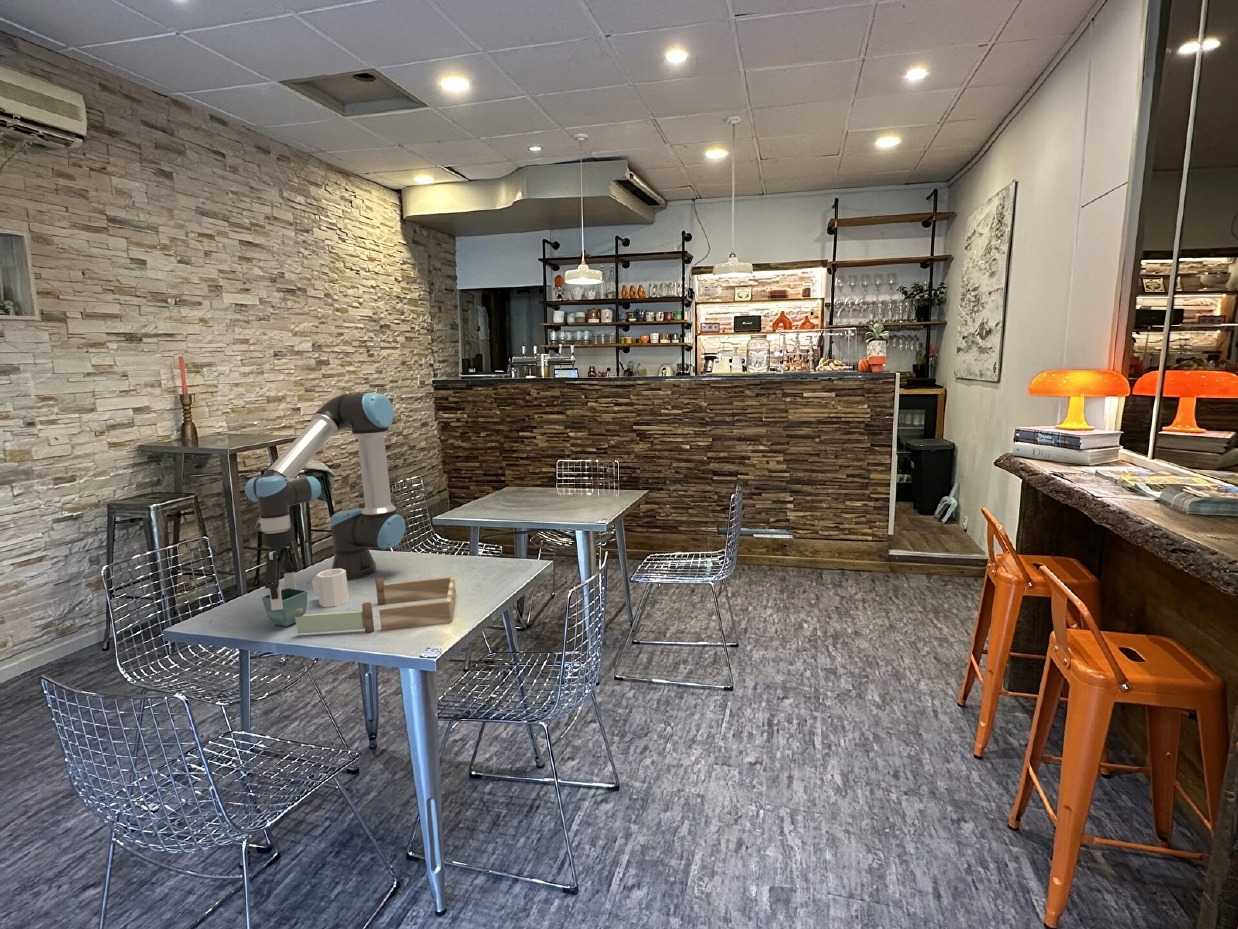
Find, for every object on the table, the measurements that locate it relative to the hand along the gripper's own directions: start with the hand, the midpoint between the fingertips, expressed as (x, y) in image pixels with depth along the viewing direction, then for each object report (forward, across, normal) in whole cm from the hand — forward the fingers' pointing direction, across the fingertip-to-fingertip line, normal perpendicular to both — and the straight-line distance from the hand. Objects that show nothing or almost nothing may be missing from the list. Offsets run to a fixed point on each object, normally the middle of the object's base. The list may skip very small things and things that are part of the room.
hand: (284, 601), depth 189 cm
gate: (+6, +12, +15) cm, 20 cm away
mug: (+7, -15, +8) cm, 19 cm away
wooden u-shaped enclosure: (+7, +3, +36) cm, 37 cm away
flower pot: (+7, 0, 0) cm, 7 cm away
